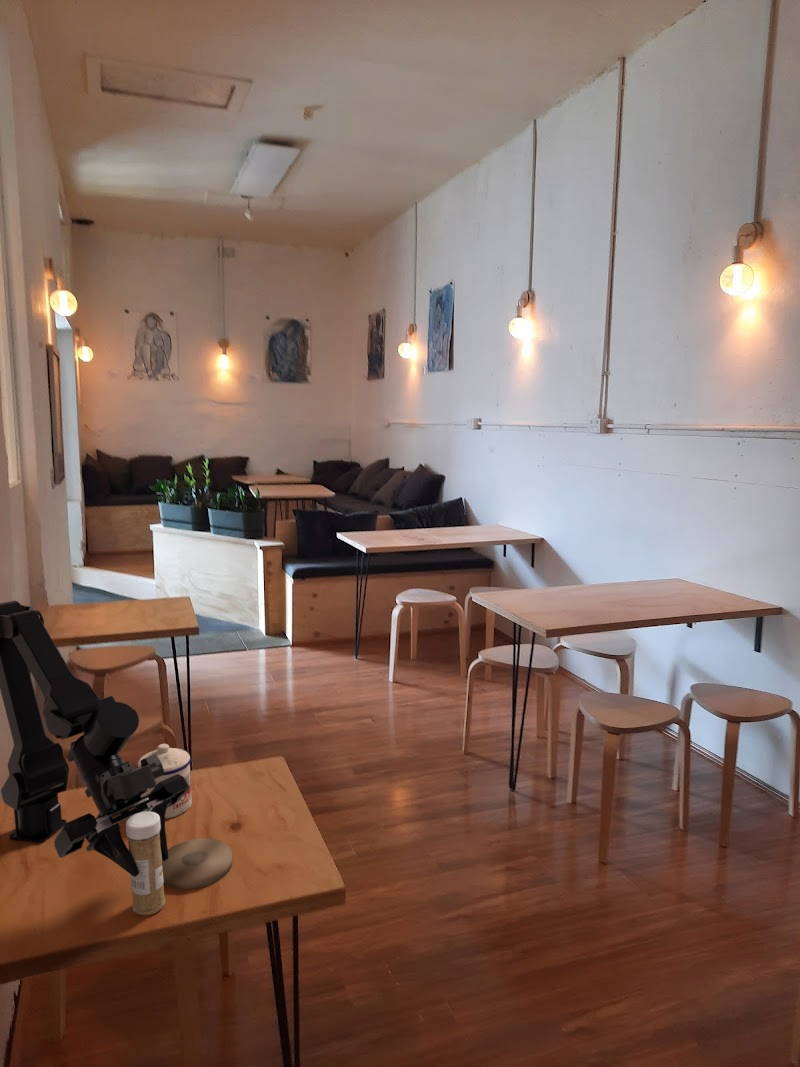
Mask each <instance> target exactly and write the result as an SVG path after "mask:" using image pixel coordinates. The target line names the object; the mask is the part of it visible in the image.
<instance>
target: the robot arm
mask: <svg viewBox="0 0 800 1067" xmlns="http://www.w3.org/2000/svg"><path fill="white" fill-rule="evenodd" d="M31 676H32V677H33V679H34V680H35V683H36V684H37V686H38V688H39V690H40V692H41V693H42V696H43V697H44V702H43V707H42V708H43V709H42V714H43V716H44V719H45V725H46V730H48V731H49V734H51V735H53V736H54V738H56V739H57V740H58V739H61V740H66V739H68V738H72V737H75V736H77V735H80V734H82V735H80V736H79V737H78V738H77V739H76V740H73V741H71V742H70V749H69V751H68V753H67V759H65V757H64V751H63V747H62V745H61V744H60V743H59V742H54V741H53V740H52V739H50V738H49V737H48V736H47V735H46V731H45V727H44V723H43V720H42V716H41V711H40V706H39V704H38V700H37V697H36V693H35V688H34V685H33V681H32V677H31ZM0 693H1V698H2V702H3V706H4V709H5V713H6V717H7V722H8V726H9V729H10V734H11V736H12V738H11V739H12V741H13V748H12V751H11V752H10V753H11V754H10V755H9V758H8V763H7V769H8V774H9V776H8V777H7V779H6V781H5V782H4V784H3V786H2V787H1V789H0V794H1V797H2V801H3V803H4V804H6V805H7V807H9V808H12V809H13V814H14V815H13V816H14V824H15V826H14V827H15V830H14V831H13V832H11V833H10V834H9V836H8V837H9V838H8V839H10V840H18V841H24V842H32V843H43V842H45V841H46V840H48V839H49V838H50V837H52V836H53V834H56V833H57V832H58V833H57V835H56V836H55V838H54V849H55V851H56V853H57V856H58V857H59V859H60V858H64V857H66V856H68V855H71V854H73V853H75V852H77V851H80V850H81V849H82V847H83V844H84V843H85V839H86V841H87V842H88V845H87V847H86V848H85V849H86V852H91V851H96V852H97V853H98V854H100V855H102V856H104V857H106V858H107V859H109V860H111V861H112V862H113V863H115V864H116V865H118V866H119V867H120V868H121V869H123V870H124V871H125V872H127V873H128V874H129V875H130V874H131V875H132V876H134V877H136V876H137V875H138V874H139V871H138V868H137V866H136V863H135V861H134V859H133V857H132V856H131V854H130V852H129V847H127V845H126V843H125V841H124V839H123V836H122V834H121V826H120V824H119V823H121V822H123V821H125V820H128V818H130V817H131V816H133V815H135V814H137V813H140V812H155V813H157V814H158V815H159V817H160V824H161V829H160V847H161V855H162V860H163V861H166V860H167V859H168V849H169V848H168V843H167V842H168V841H167V833H166V819H165V813H166V809H167V808H168V807H170V806H172V805H174V804H175V803H177V802H178V801H179V800H180V799H181V797H182V796H183V795H184V794H185V793H186V792H187V791H188V789H189V788H190V786H189V784H188V782H187V780H186V778H185V777H183V776H181V775H179V774H177V775H175V776H172V777H170V778H168V779H165V780H163V781H161V782H159V783H158V784H156V781H155V778H158V777H160V776H162V775H163V774H164V769H163V766H162V763H161V761H160V760H159V758H158V757H157V755H156V754H155V755H152V756H149V757H147V758H144V759H142V760H141V767H139V768H137V767H136V768H134V767H133V766H132V764H131V763H130V762H129V761H125V762H124V760H123V759H122V756H121V755H120V753H121V751H122V750H123V749H124V748H125V747H126V745H127V743H128V742H129V740H131V738H132V737H133V735H134V733H135V732H136V731H137V730H138V727H139V725H140V724H139V722H140V720H139V719H140V718H139V717H140V716H139V715H138V712H137V711H136V709H134V708H133V707H131V706H130V705H128V704H127V703H125V702H120V701H116V700H115V698H114V696H113V695H110V696H106V697H104V698H102V697H100V696H99V695H98V694H97V693H96V691H95V690H94V689H93V687H92V686H91V685H90V684H89V683H88V682H86V681H84V680H81V679H80V678H77V677H75V674H73V672H72V671H71V669H70V667H69V666H68V664H67V662H66V661H65V659H64V657H63V656H62V654H61V652H60V650H59V649H58V647H57V645H56V643H55V642H54V640H53V639H52V637H51V635H50V633H49V632H48V630H47V628H46V627H45V621H44V617H43V615H42V613H41V611H39V610H38V609H35V607H34V606H32V605H25V604H24V605H23V604H21V603H20V602H19V601H18V600H10V601H4V602H1V603H0ZM67 760H68V761H69V762H74V763H75V765H76V767H77V769H78V771H79V774H80V775H81V777H82V779H83V782H84V784H85V785H86V789H85V791H84V793H85V795H86V797H87V798H91V799H92V800H93V802H94V804H95V807H96V808H97V810H98V812H99V813H98V814H97V816H96V817H95V815H93V814H92V813H90V812H88V813H86V814H84V815H81V816H78V817H76V818H74V819H72V820H69V821H67V819H63V818H62V809H61V808H62V806H61V805H62V804H61V803H60V802H59V796H58V795H59V794H60V793H62V792H63V793H64V792H66V791H67V788H68V779H69V771H70V767H69V764H68V762H67ZM153 787H155V788H154V789H153V790H152V791H151V793H150V794H148V795H146V796H144V797H142V798H141V795H142V794H144V793H145V792H146V791H147V789H148V788H149V789H151V788H153Z"/></svg>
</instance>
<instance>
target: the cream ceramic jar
mask: <svg viewBox="0 0 800 1067" xmlns="http://www.w3.org/2000/svg"><path fill="white" fill-rule="evenodd" d="M155 754H156V755H157V757H158V758H159V760H160V761H161V763H162V766H163V769H164V774H163V775H162V776H160V777H158V778H155V781H156V784H158V783H159V782H161V781H163V780H165V779H168V778H170V777H172V776H175V775H177V774H179V775H181V776H183V777H185V778H186V780H187V782H188V784H189V786H190V788H189V789H188V791H187V792H186V793H185V794H184V795H183V796H182V797H181V799H180V800H179V801H178V802H177V803H175V804H174V805H172V806H170V807H168V808H167V809H166V813H165V818H166V819H170V818H174V817H177V815H178V816H180V815H182V814H183V812H184V813H186V812H187V811H186V810H187V809H188V808H189V807H190V808H191V806H192V803H193V797H192V796H193V795H192V780H191V762H192V757H191V755H190V753H189V752H187V751H186V750H185V749H181V748H175V747H174V748H173V747H170V745H169V744H168V743H161V744H159V745H158V746H157V748H156V749H155V750H152V751H150V752H147V753H145V754H144V755H143V756H141V757H140V758H139V759H138V762H137V765H136V768H139V767H141V760H142V759H144V758H147V757H149V756H152V755H155ZM154 788H155V787H153V788H151V789H149V788H148V789H147V791H146V792H145V793H144V794H142V795H141V798H142V797H144V796H146V795H148V794H150V793H151V791H152V790H153V789H154ZM190 808H189V809H190ZM189 809H188V810H189Z"/></svg>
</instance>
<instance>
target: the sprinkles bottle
mask: <svg viewBox="0 0 800 1067" xmlns="http://www.w3.org/2000/svg"><path fill="white" fill-rule="evenodd" d="M160 829H161V824H160V817H159V815H158V814H157V813H155V812H140V813H137V814H135V815H133V816H131V817H130V818H128V819H126V822H125V833H126V838H127V845H128V850H129V852H130V854H131V856H132V857H133V859H134V861H135V863H136V866H137V868H138V871H139V874H138V875H137V876H136V877H134V876H132V875H131V874H130V873H129V875H130V887H131V895H132V911H133V913H134V914H137V915H139V916H140V915H141V916H150V915H153V914H156V913H157V912H159V911H160V910H161V909H163V908H164V907H165V905H166V897H165V884H163V882H164V879H163V868H162V855H161V847H160Z"/></svg>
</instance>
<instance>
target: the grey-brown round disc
mask: <svg viewBox="0 0 800 1067" xmlns="http://www.w3.org/2000/svg"><path fill="white" fill-rule="evenodd" d="M167 849H168V859H167V860H166V861H163V860H162V868H163V879H164V882H163V885H164V886H167V887H169V888H172V889H176V890H194V889H195V890H196V889H201V888H204V887H207V886H210V885H213V884H215V883H217V882H218V881H220V880H221V879H223V878H224V877H225V876H226V875H227V874H229V872H230V871H231V869H232V867H233V866H232V865H233V854H232V853H233V852H232V849H231V847H230V845H228V844H227V843H226V842H224V841H222V840H219V839H214V838H194V839H189V840H186V841H182V842H180V843H177V844H175V845H173V846H171V847H170V848H167Z"/></svg>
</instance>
